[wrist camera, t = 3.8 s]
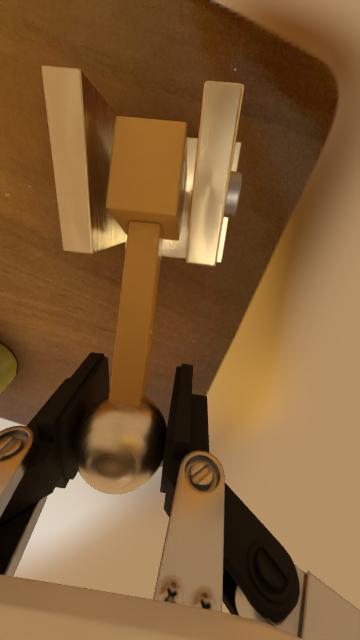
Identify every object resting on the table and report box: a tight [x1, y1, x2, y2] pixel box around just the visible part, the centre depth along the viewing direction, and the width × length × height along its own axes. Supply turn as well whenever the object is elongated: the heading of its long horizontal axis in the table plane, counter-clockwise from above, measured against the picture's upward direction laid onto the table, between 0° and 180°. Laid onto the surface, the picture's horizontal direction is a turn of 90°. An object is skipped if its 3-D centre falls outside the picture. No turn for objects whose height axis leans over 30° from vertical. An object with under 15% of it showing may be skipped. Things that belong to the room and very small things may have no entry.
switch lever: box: [74, 116, 187, 494], centre depth 8 cm, size 12×3×3 cm, turn 175°
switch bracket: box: [41, 66, 244, 267], centre depth 12 cm, size 8×8×13 cm
